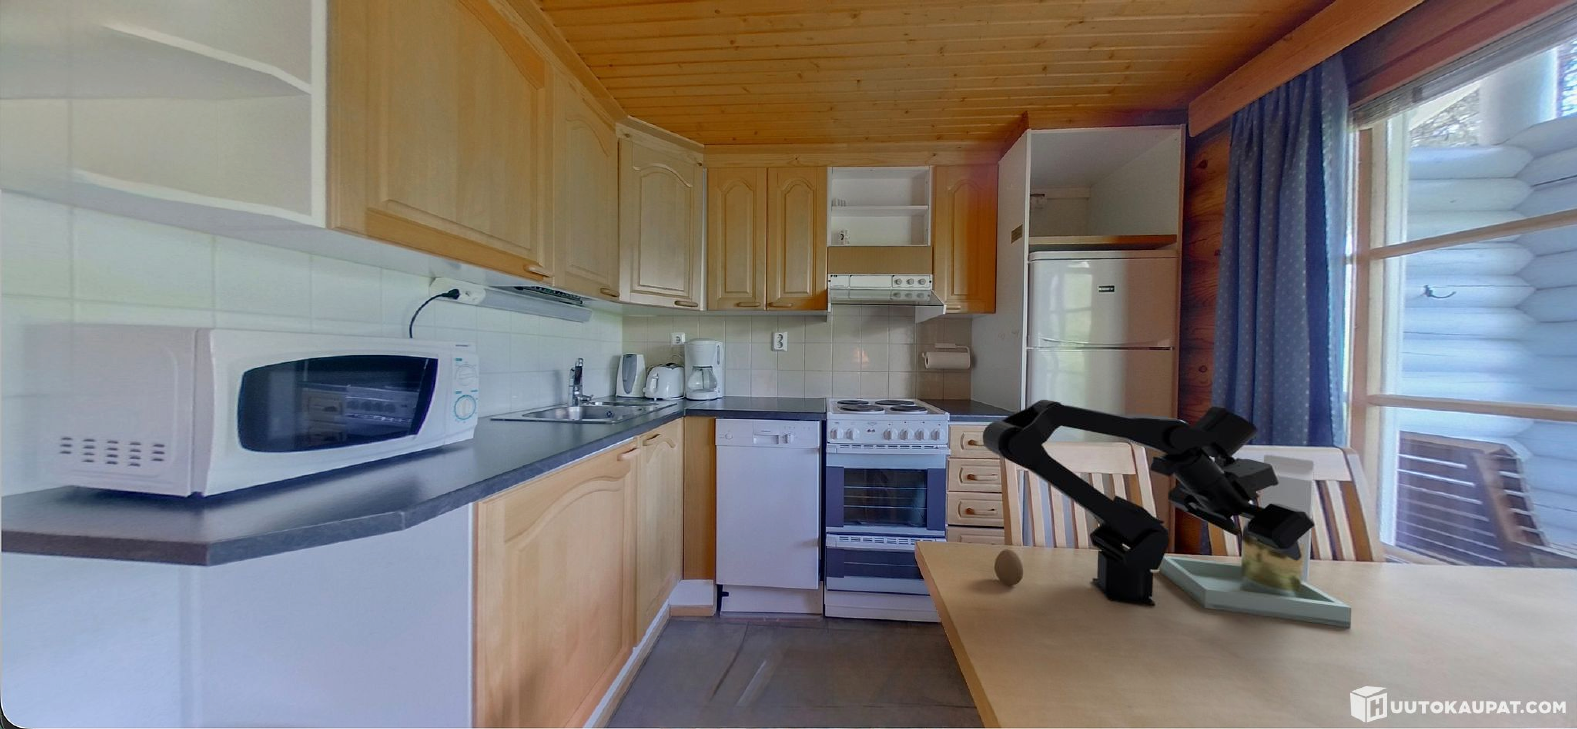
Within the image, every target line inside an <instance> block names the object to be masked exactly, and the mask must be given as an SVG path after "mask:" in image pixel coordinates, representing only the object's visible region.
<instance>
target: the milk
mask: <svg viewBox="0 0 1577 729" xmlns="http://www.w3.org/2000/svg"><path fill="white" fill-rule="evenodd" d="M1263 463H1268V464H1271V465H1272V468H1273V470H1274V473H1275V475H1276V477H1277V480H1278V482H1279V484H1278V485H1276V486H1270V487H1267V488H1265V489H1262V490H1260V495H1259V497H1260V499H1259V501H1260V502H1259V507H1262V508H1265V507H1267V506H1268V505H1269V504H1270V503H1272V504H1281V505H1284V506H1288V507H1291V508H1294V509H1297V510H1300V511H1304V512H1305V513H1306V514H1307V515H1308V516H1309V517H1310V518H1311V519H1312V520H1313V498H1314V497H1313V496H1314V479H1315V478H1314V476H1315V475H1314V473H1315V472H1314V466H1315V465H1314V461H1313V460H1310V459H1303V458H1295V457H1287V456H1280V455H1272V454H1264V456H1263ZM1311 537H1312V528H1311V529H1310V530H1309V531H1307V532H1306V533H1305V534H1304V555H1303V576H1302V581H1304V582H1305V583H1307V584H1309V579H1310V562H1311V561H1310V560H1311V543H1312V542H1311V541H1312V538H1311Z"/></svg>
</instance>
